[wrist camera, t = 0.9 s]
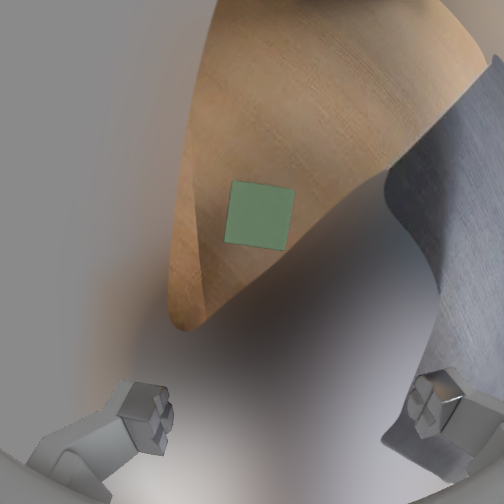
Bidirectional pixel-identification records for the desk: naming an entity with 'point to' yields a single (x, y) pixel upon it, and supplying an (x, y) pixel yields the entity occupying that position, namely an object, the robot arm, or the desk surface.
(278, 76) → the desk surface
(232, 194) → the green pad
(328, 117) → the desk surface
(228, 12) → the desk surface
